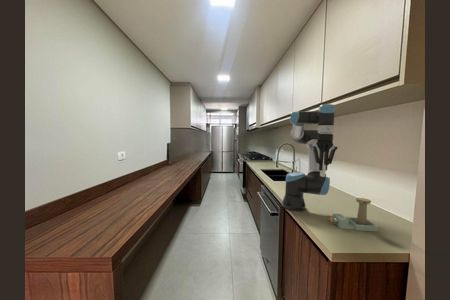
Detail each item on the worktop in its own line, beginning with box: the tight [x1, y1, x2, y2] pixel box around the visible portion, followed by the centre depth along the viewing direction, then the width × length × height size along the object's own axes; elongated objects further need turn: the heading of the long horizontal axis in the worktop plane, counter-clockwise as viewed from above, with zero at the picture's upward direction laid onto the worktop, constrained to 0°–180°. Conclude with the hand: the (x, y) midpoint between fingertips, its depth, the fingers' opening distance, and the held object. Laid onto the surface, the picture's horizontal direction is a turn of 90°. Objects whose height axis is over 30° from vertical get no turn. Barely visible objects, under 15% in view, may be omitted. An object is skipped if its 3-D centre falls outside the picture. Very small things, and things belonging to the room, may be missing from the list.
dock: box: [332, 213, 379, 232], centre depth 100 cm, size 10×18×5 cm, turn 86°
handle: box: [355, 197, 372, 225], centre depth 99 cm, size 5×6×15 cm
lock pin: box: [328, 216, 338, 224], centre depth 100 cm, size 3×7×3 cm, turn 86°
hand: (322, 176), depth 101 cm, fingers closed
